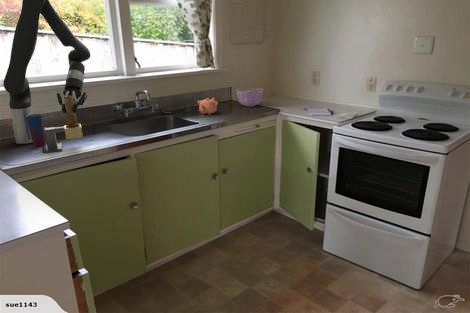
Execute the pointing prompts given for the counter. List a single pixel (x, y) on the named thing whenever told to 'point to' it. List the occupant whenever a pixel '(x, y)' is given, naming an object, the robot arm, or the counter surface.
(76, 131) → the cup bracket
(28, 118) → the cup
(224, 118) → the counter surface
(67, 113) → the rail post
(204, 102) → the orange lumpy ball
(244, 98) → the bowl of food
